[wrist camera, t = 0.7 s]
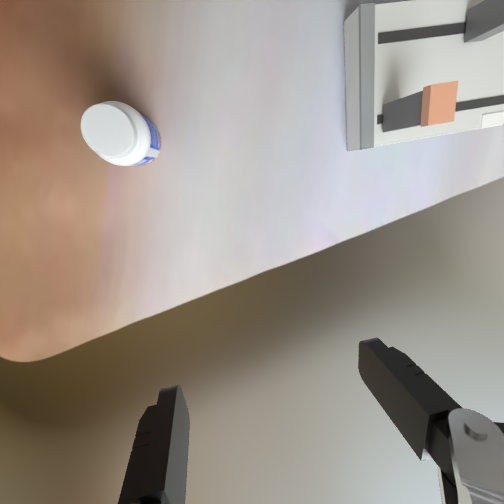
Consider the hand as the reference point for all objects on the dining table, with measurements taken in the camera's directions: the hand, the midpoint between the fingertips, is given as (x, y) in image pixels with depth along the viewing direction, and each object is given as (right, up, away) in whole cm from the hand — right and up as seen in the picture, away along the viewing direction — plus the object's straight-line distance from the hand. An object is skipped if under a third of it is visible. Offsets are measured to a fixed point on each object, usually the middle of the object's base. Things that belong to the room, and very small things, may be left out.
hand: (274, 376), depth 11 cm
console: (+21, +28, +21) cm, 41 cm away
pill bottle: (-14, +18, +18) cm, 30 cm away
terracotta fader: (+16, +22, +19) cm, 33 cm away
